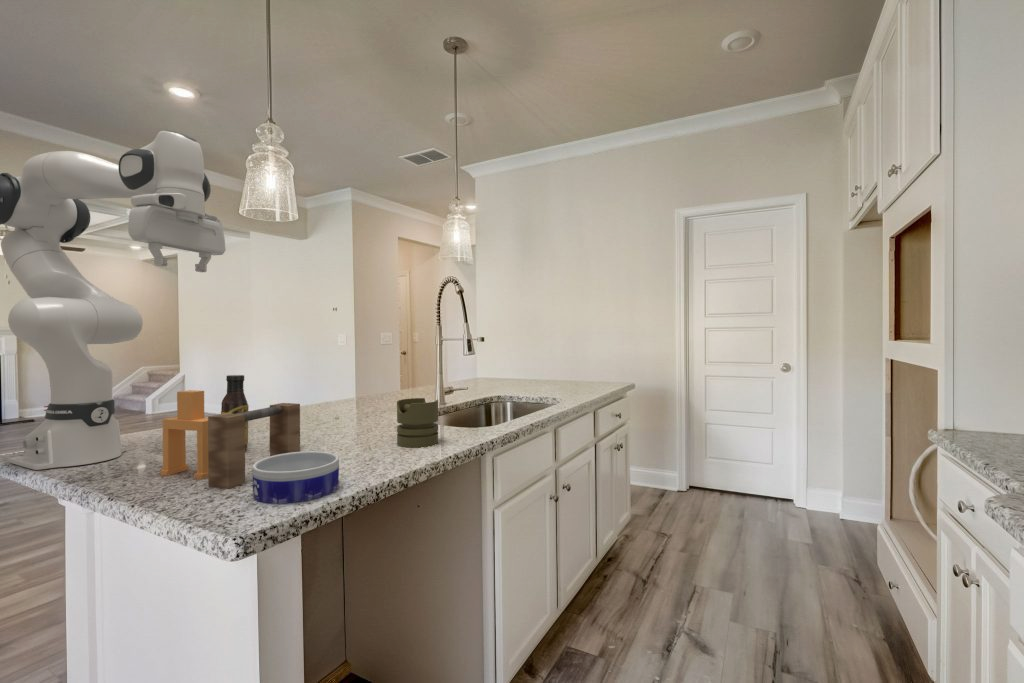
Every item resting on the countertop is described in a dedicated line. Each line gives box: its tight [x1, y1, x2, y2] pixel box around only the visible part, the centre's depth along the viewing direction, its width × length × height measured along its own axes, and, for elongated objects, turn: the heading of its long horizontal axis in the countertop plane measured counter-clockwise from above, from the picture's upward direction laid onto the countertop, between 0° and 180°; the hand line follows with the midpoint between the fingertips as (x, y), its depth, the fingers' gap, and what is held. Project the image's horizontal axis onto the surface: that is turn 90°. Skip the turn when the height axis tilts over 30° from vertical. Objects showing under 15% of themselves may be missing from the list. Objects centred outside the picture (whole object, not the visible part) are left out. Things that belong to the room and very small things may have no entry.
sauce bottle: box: [220, 374, 249, 451], centre depth 123 cm, size 6×6×20 cm
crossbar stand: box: [207, 402, 301, 490], centre depth 102 cm, size 5×20×14 cm, turn 165°
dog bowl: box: [251, 450, 340, 505], centre depth 91 cm, size 15×15×6 cm
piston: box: [396, 397, 439, 449], centre depth 132 cm, size 11×12×11 cm
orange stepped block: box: [159, 389, 208, 480], centre depth 102 cm, size 12×5×18 cm, turn 75°
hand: (181, 269), depth 105 cm, fingers open, 8 cm apart
